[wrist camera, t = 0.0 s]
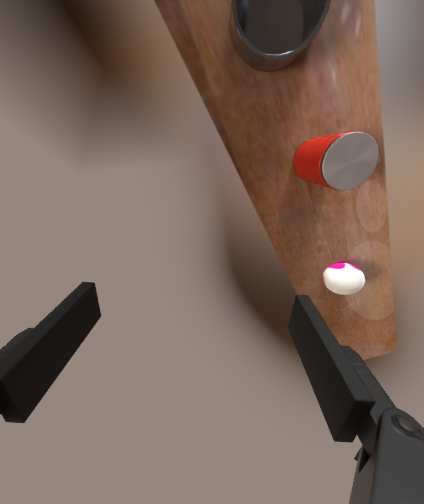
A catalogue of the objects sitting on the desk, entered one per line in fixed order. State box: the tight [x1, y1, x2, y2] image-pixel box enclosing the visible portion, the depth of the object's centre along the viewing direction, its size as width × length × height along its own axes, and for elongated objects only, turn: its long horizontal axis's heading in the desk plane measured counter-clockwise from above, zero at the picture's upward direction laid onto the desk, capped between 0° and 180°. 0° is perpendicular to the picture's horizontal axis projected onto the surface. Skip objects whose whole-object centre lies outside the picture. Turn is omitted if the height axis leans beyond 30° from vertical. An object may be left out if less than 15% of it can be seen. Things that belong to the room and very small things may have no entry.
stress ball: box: [323, 254, 366, 295], centre depth 43 cm, size 8×8×7 cm
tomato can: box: [293, 131, 379, 190], centre depth 31 cm, size 7×7×12 cm
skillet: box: [230, 0, 330, 72], centre depth 27 cm, size 11×11×4 cm
